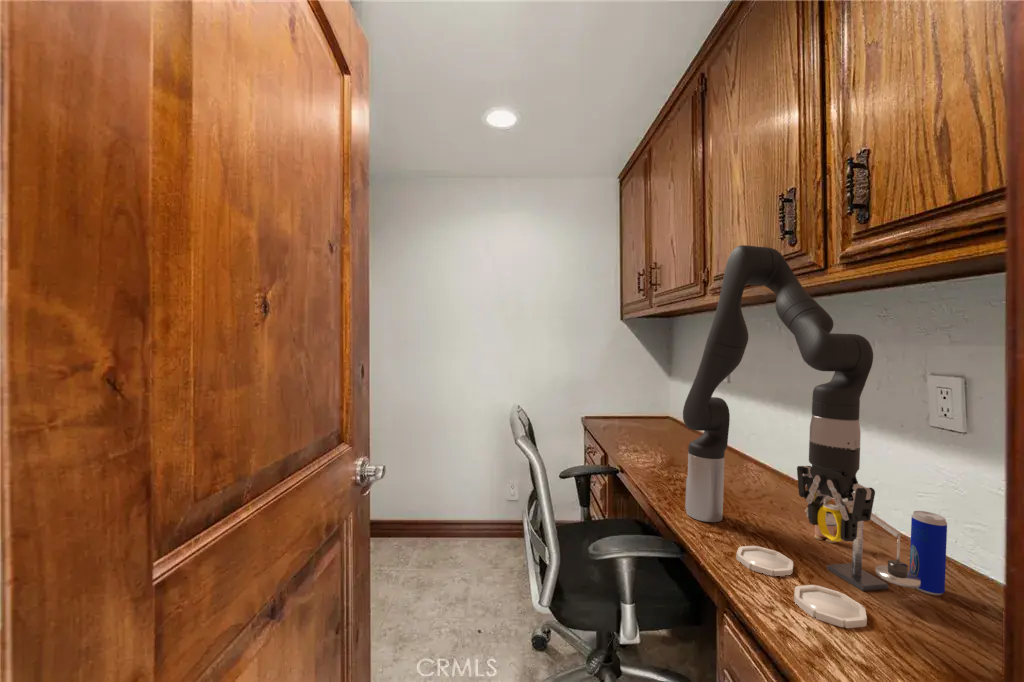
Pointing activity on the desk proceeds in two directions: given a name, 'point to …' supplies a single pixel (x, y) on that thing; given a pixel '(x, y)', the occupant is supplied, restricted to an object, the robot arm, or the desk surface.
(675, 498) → the desk surface
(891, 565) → the balance
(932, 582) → the beverage can
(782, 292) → the robot arm
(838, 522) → the watch
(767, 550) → the dish upper pan side
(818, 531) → the grandmother figurine
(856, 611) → the dish lower pan side
